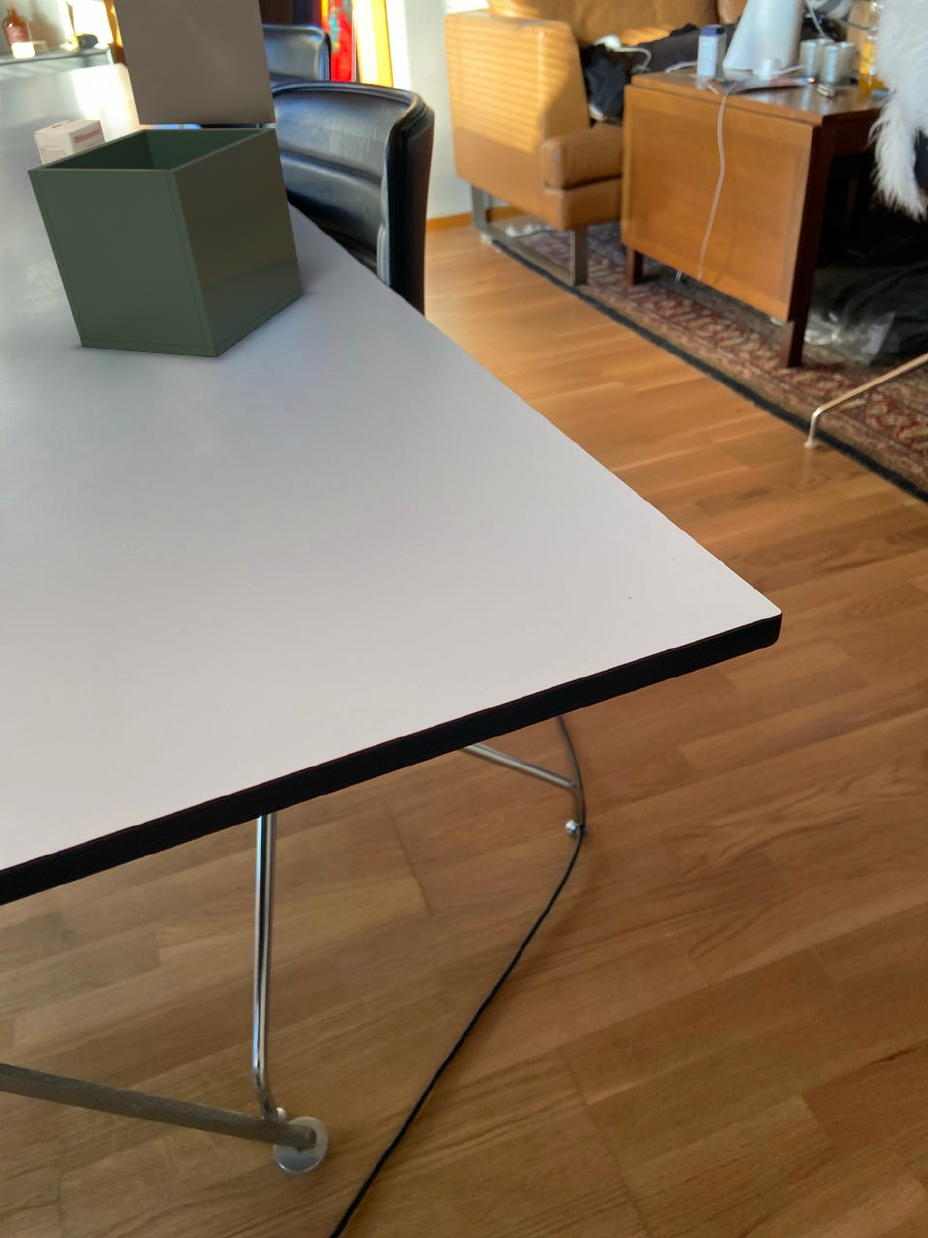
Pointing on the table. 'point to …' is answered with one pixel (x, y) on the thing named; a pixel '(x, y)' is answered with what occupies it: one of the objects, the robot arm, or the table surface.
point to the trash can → (171, 238)
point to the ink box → (68, 138)
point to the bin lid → (196, 61)
